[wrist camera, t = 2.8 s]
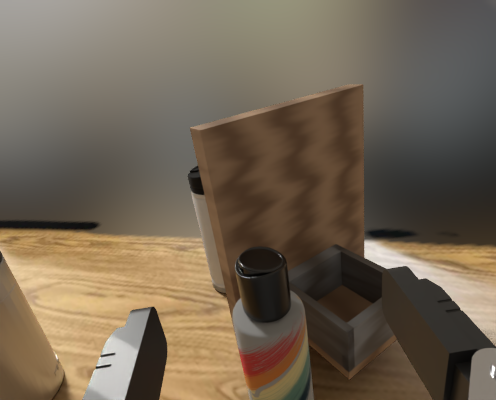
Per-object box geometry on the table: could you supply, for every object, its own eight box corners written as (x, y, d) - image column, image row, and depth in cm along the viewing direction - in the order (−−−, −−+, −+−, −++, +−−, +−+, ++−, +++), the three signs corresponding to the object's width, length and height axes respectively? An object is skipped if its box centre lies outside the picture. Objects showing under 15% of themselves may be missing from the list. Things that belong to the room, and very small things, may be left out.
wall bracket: (311, 442, 31) (277, 150, 20) (240, 356, 41) (189, 127, 29) (435, 330, 40) (462, 85, 29) (353, 281, 50) (348, 84, 38)
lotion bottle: (249, 414, 34) (212, 248, 26) (300, 392, 36) (279, 228, 27) (270, 474, 29) (232, 292, 21) (328, 446, 31) (313, 265, 22)
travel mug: (254, 290, 51) (233, 167, 43) (212, 297, 52) (182, 174, 43) (252, 266, 57) (233, 153, 49) (214, 272, 57) (188, 159, 49)
